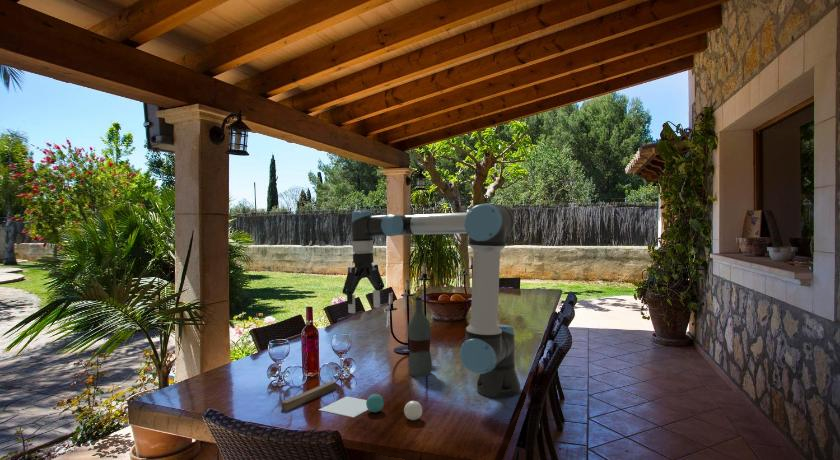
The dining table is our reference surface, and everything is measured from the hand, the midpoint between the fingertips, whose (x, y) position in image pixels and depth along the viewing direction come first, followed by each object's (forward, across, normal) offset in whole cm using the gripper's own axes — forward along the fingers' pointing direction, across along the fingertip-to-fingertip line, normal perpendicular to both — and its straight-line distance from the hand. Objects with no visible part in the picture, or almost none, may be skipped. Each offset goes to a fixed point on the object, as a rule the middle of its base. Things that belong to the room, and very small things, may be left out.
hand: (364, 310), depth 187 cm
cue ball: (+25, +18, +35) cm, 46 cm away
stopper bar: (+27, +22, -6) cm, 36 cm away
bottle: (+28, -22, +8) cm, 36 cm away
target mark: (+28, +20, +11) cm, 36 cm away
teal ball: (+25, +19, +21) cm, 38 cm away
